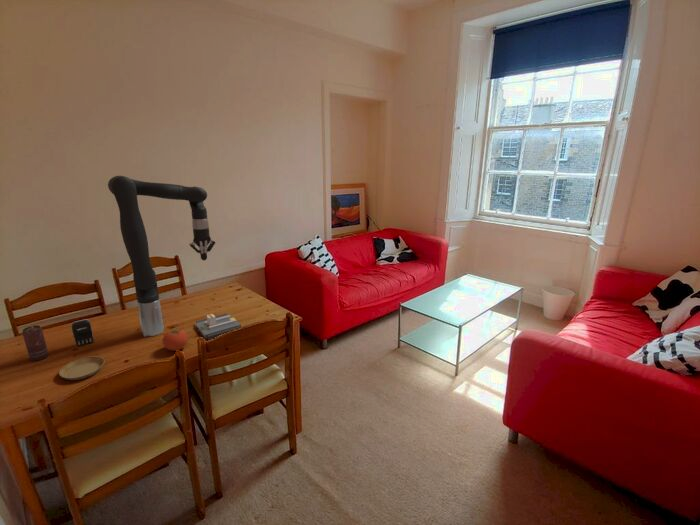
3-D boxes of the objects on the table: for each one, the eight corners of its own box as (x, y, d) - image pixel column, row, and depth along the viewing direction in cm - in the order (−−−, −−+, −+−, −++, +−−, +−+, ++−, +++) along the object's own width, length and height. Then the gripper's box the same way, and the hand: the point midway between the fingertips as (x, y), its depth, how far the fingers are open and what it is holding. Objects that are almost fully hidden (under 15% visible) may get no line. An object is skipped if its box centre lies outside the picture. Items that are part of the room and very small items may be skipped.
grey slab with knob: (208, 340, 167) (208, 336, 166) (196, 324, 181) (195, 321, 180) (241, 330, 176) (240, 327, 176) (226, 316, 191) (226, 313, 190)
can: (46, 351, 154) (39, 323, 149) (50, 357, 150) (42, 328, 146) (28, 357, 149) (20, 328, 145) (31, 363, 145) (23, 333, 141)
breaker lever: (210, 327, 174) (209, 317, 172) (207, 324, 177) (206, 314, 175) (216, 325, 176) (215, 316, 174) (213, 322, 179) (212, 313, 177)
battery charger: (76, 348, 157) (70, 325, 154) (75, 344, 160) (70, 322, 156) (95, 343, 162) (90, 320, 158) (94, 339, 164) (89, 317, 161)
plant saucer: (79, 386, 133) (78, 380, 132) (50, 379, 136) (49, 373, 135) (114, 365, 146) (113, 359, 145) (87, 359, 150) (85, 353, 149)
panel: (205, 338, 168) (204, 332, 167) (195, 326, 179) (194, 321, 178) (241, 328, 179) (240, 322, 178) (230, 317, 190) (229, 312, 189)
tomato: (172, 357, 152) (169, 337, 149) (159, 350, 157) (156, 330, 154) (193, 347, 160) (191, 327, 157) (180, 340, 165) (177, 321, 162)
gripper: (189, 230, 169) (192, 263, 175) (216, 227, 177) (219, 259, 183) (184, 227, 175) (188, 260, 180) (211, 224, 183) (214, 256, 188)
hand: (204, 259), depth 181 cm, fingers closed
